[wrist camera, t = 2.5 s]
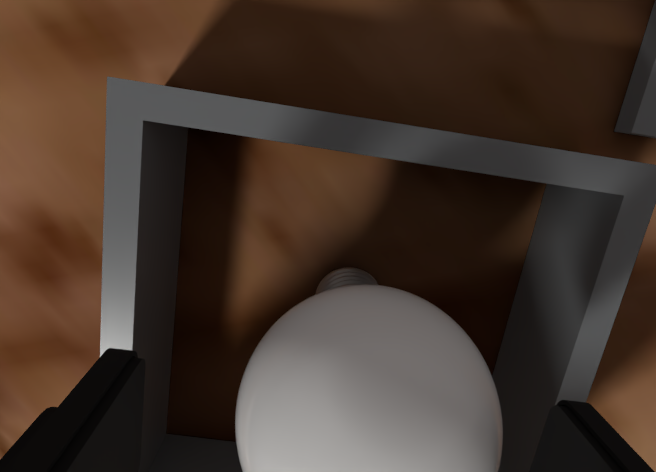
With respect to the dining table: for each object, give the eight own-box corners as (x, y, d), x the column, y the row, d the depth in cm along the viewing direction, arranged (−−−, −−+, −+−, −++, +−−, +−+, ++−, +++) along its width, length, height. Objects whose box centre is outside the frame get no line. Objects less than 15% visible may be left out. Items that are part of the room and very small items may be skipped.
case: (581, 153, 17) (1676, 320, 3) (480, 490, 21) (781, 1194, 7) (163, 86, 16) (-736, -71, 2) (142, 451, 21) (-235, 1168, 7)
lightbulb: (453, 299, 19) (625, 538, 8) (338, 386, 20) (359, 699, 9) (357, 185, 18) (415, 294, 7) (238, 285, 19) (130, 514, 8)
